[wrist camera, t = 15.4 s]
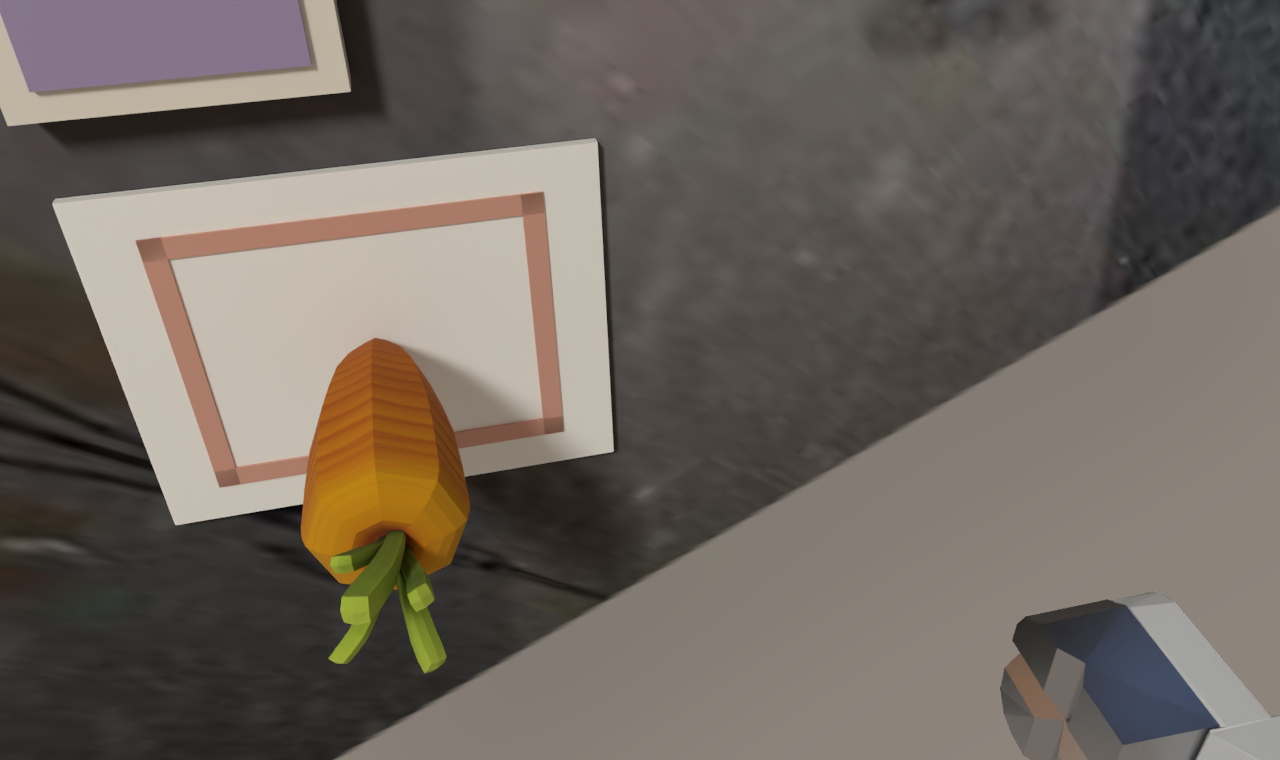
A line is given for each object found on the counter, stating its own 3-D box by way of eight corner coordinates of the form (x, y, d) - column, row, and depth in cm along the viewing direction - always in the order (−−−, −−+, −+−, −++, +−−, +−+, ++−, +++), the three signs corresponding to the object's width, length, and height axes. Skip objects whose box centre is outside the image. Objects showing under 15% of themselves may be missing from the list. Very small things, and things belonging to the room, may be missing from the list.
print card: (595, 138, 36) (598, 143, 36) (611, 446, 44) (614, 453, 44) (55, 199, 33) (51, 205, 33) (176, 518, 41) (175, 527, 41)
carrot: (450, 389, 40) (497, 687, 28) (321, 407, 39) (312, 724, 27) (435, 279, 38) (480, 556, 26) (295, 295, 37) (274, 593, 25)
